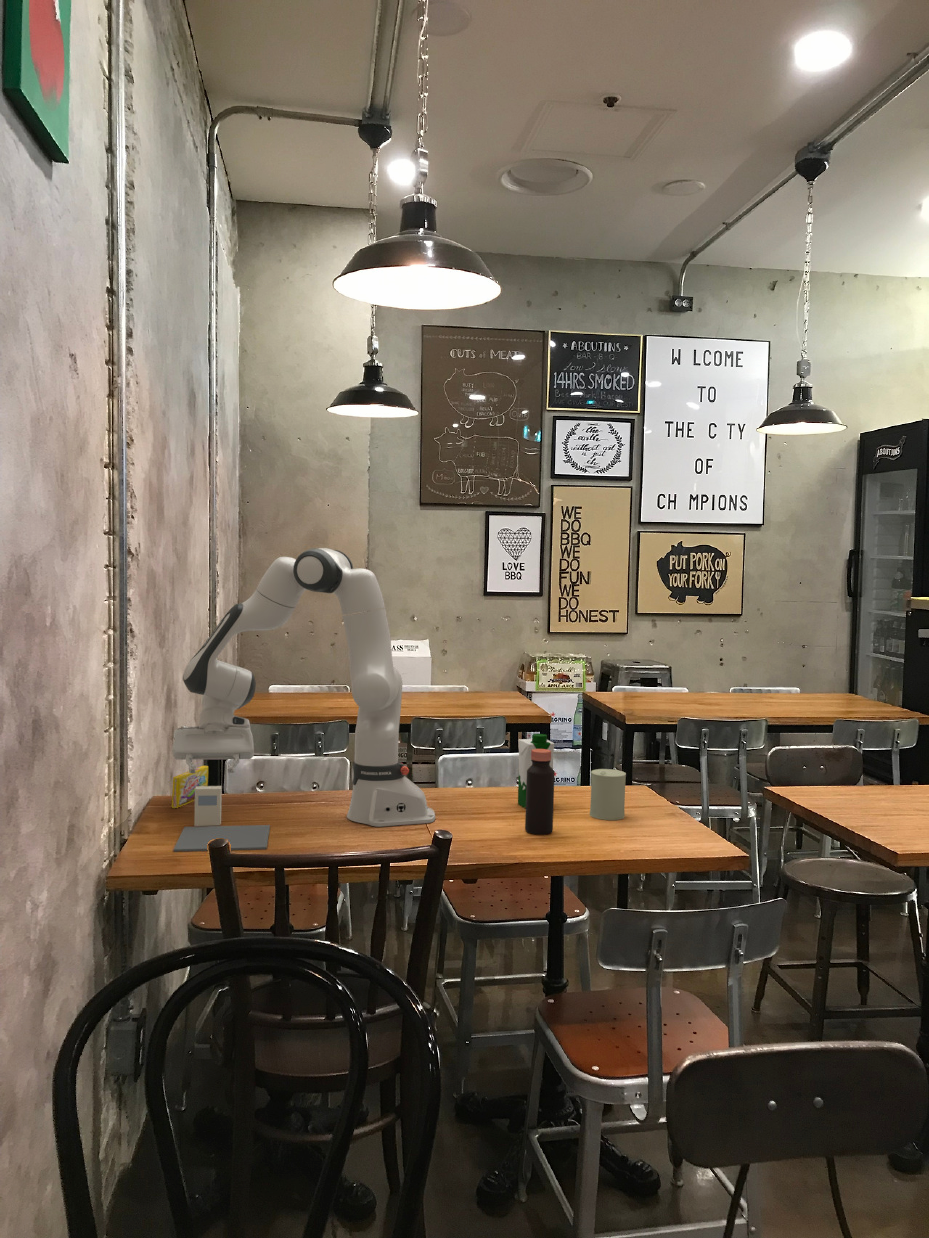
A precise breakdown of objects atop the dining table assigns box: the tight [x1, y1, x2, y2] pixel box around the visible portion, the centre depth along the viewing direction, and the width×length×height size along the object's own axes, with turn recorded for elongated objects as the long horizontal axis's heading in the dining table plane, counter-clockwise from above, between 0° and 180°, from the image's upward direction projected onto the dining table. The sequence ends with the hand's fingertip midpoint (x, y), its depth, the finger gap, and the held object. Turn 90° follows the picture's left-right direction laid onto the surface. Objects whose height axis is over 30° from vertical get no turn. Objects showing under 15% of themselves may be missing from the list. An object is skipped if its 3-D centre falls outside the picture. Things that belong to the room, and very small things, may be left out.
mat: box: [172, 824, 271, 853], centre depth 207 cm, size 20×18×1 cm
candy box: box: [171, 765, 209, 809], centre depth 240 cm, size 16×2×8 cm, turn 168°
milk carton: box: [517, 733, 555, 810], centre depth 244 cm, size 9×9×20 cm
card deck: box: [193, 785, 223, 827], centre depth 219 cm, size 6×3×9 cm, turn 100°
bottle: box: [524, 749, 555, 836], centre depth 219 cm, size 7×7×20 cm
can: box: [589, 768, 627, 821], centre depth 236 cm, size 9×9×12 cm
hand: (211, 771), depth 225 cm, fingers open, 8 cm apart
